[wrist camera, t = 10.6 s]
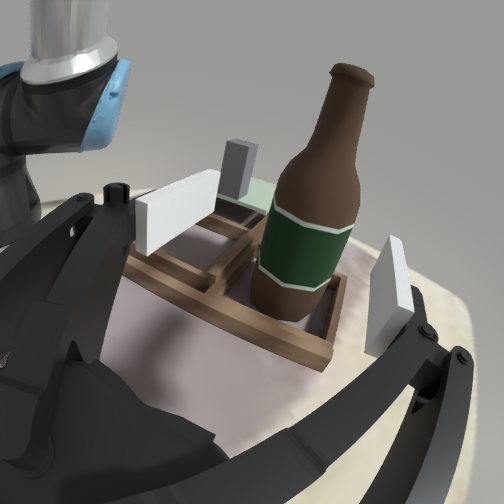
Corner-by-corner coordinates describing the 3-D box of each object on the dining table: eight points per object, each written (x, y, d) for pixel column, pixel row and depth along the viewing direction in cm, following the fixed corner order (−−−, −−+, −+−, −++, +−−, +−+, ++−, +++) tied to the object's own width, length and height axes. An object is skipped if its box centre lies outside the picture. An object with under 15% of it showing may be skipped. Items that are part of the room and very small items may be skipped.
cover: (191, 188, 42) (199, 134, 38) (227, 172, 53) (236, 129, 48) (265, 214, 40) (280, 156, 35) (288, 192, 50) (301, 147, 45)
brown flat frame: (93, 256, 28) (91, 235, 27) (203, 194, 49) (206, 179, 48) (322, 372, 22) (336, 352, 21) (349, 249, 43) (356, 234, 42)
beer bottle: (237, 278, 31) (290, 52, 18) (295, 273, 34) (357, 78, 22) (263, 330, 25) (350, 51, 13) (327, 317, 29) (418, 92, 16)
